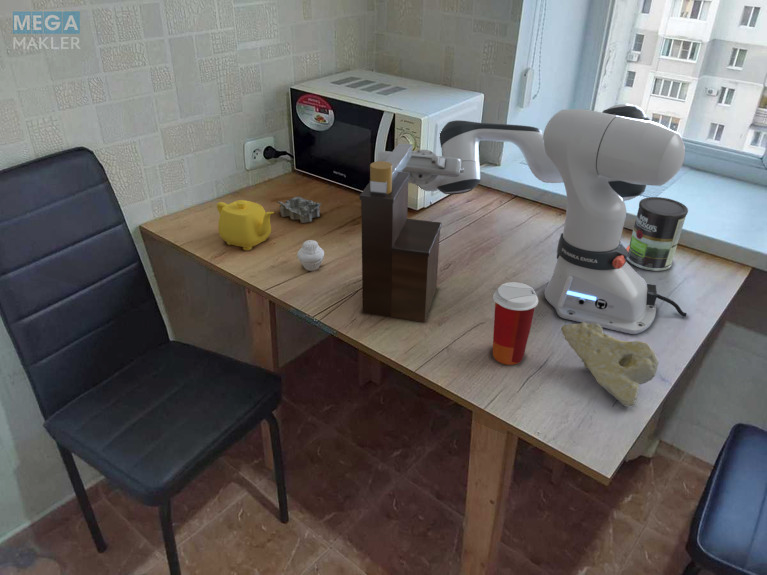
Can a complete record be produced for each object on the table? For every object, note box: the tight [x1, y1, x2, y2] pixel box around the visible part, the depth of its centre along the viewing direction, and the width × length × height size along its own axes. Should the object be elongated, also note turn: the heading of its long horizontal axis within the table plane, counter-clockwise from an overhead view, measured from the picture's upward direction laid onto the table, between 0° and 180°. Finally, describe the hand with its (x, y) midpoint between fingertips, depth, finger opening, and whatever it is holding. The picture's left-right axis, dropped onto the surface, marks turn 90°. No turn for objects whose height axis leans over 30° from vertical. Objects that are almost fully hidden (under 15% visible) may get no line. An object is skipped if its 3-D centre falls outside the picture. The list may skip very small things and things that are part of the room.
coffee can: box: [626, 196, 689, 272], centre depth 141 cm, size 10×10×14 cm
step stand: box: [359, 172, 443, 323], centre depth 122 cm, size 14×13×26 cm
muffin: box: [296, 239, 325, 272], centre depth 139 cm, size 6×6×7 cm
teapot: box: [216, 199, 275, 251], centre depth 149 cm, size 18×11×11 cm, turn 59°
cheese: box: [561, 322, 660, 408], centre depth 107 cm, size 15×7×15 cm
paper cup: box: [492, 281, 539, 366], centre depth 110 cm, size 8×8×14 cm
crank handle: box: [369, 142, 413, 195], centre depth 120 cm, size 22×4×5 cm, turn 165°
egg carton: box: [276, 196, 322, 224], centre depth 164 cm, size 11×8×4 cm
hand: (414, 157), depth 140 cm, fingers open, 8 cm apart
